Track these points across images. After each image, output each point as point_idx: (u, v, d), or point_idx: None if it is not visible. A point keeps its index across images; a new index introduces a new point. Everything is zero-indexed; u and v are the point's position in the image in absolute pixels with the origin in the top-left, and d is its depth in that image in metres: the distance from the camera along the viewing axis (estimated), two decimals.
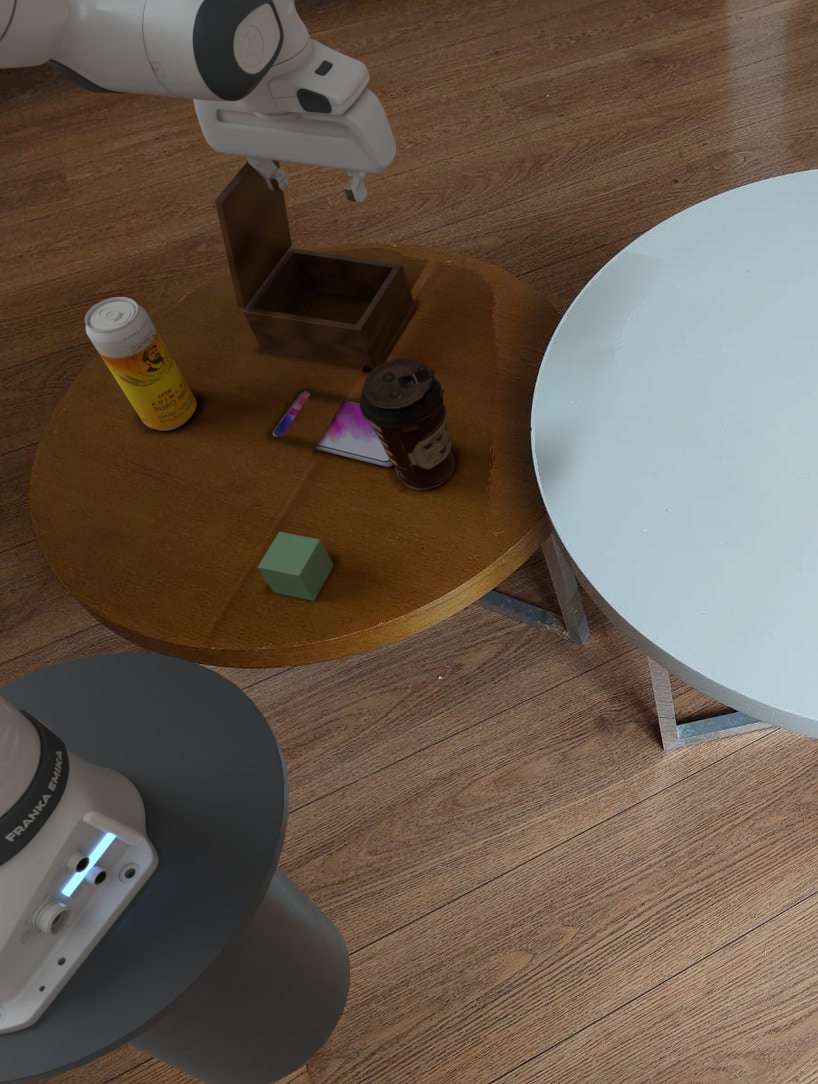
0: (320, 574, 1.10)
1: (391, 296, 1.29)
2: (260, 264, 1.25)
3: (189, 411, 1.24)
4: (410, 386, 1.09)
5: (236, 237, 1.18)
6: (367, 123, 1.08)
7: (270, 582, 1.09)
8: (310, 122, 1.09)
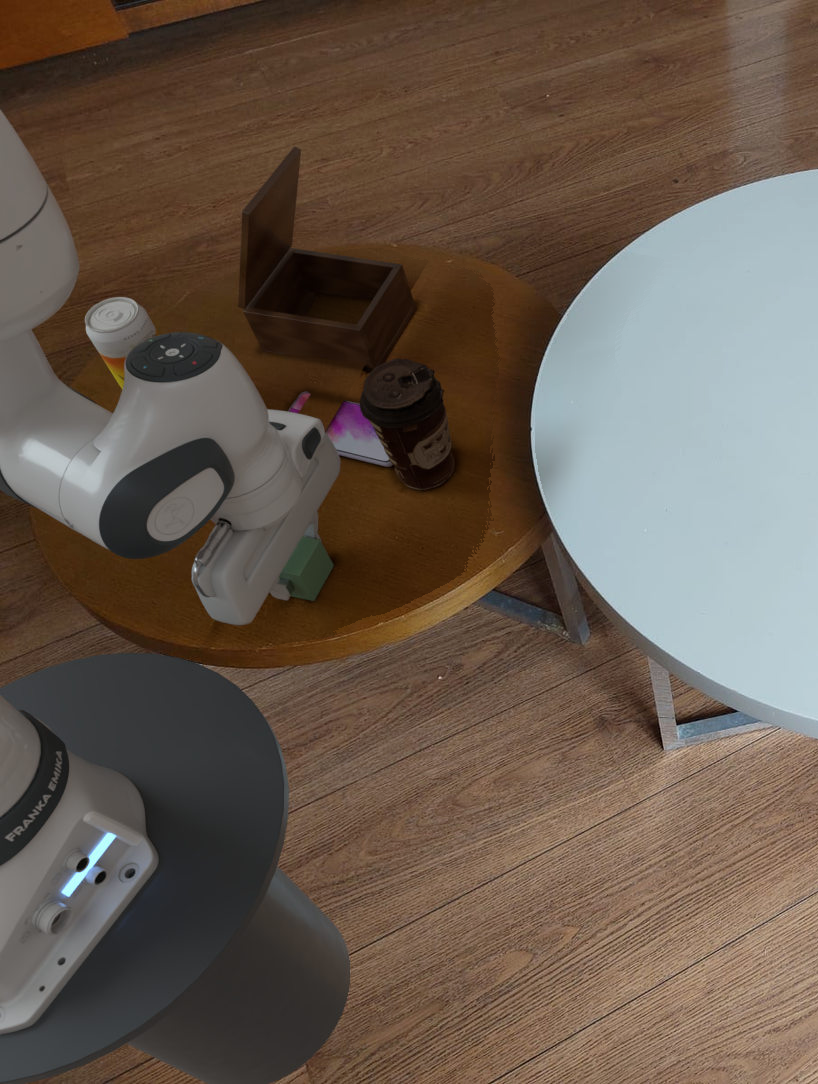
0: (320, 574, 1.10)
1: (391, 296, 1.29)
2: (264, 267, 1.26)
3: None
4: (410, 386, 1.09)
5: (253, 244, 1.18)
6: None
7: None
8: None
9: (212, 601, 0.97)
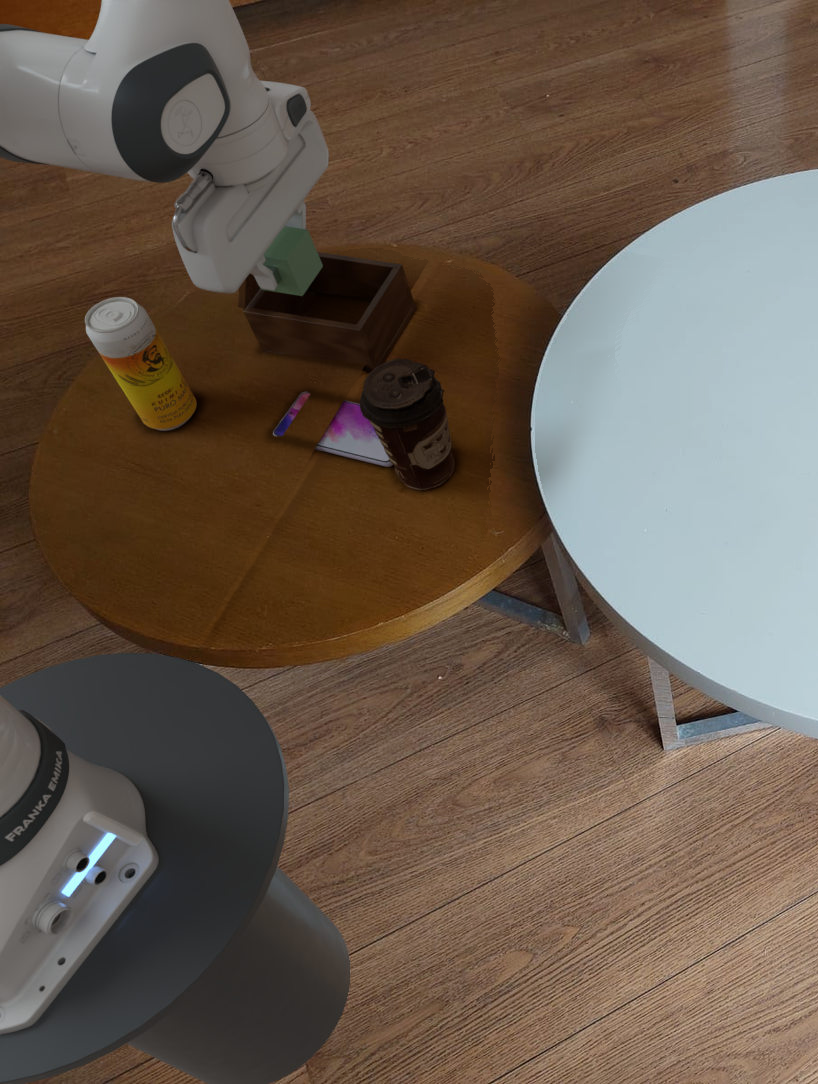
0: (308, 269, 1.06)
1: (391, 296, 1.29)
2: None
3: (189, 411, 1.24)
4: (410, 386, 1.09)
5: None
6: None
7: None
8: None
9: (194, 259, 0.94)
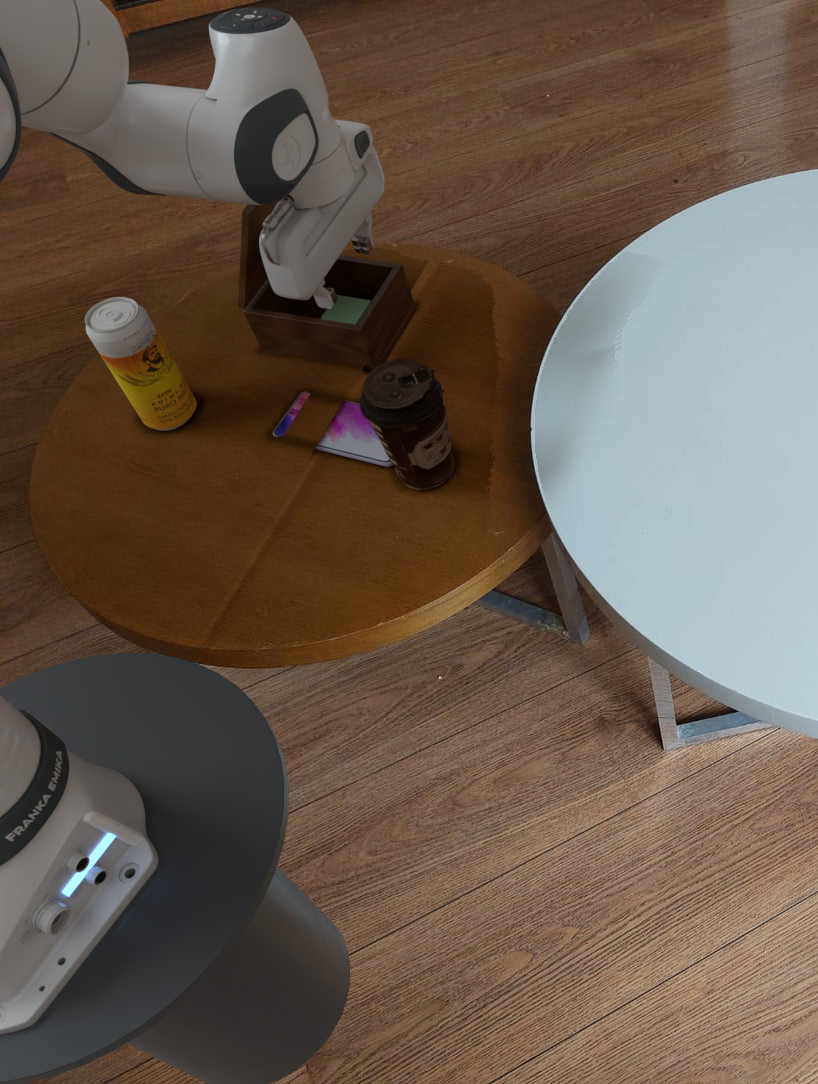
0: (352, 310, 1.27)
1: (391, 296, 1.29)
2: (264, 267, 1.26)
3: (189, 411, 1.24)
4: (410, 386, 1.09)
5: (253, 244, 1.18)
6: None
7: None
8: None
9: (276, 270, 1.10)
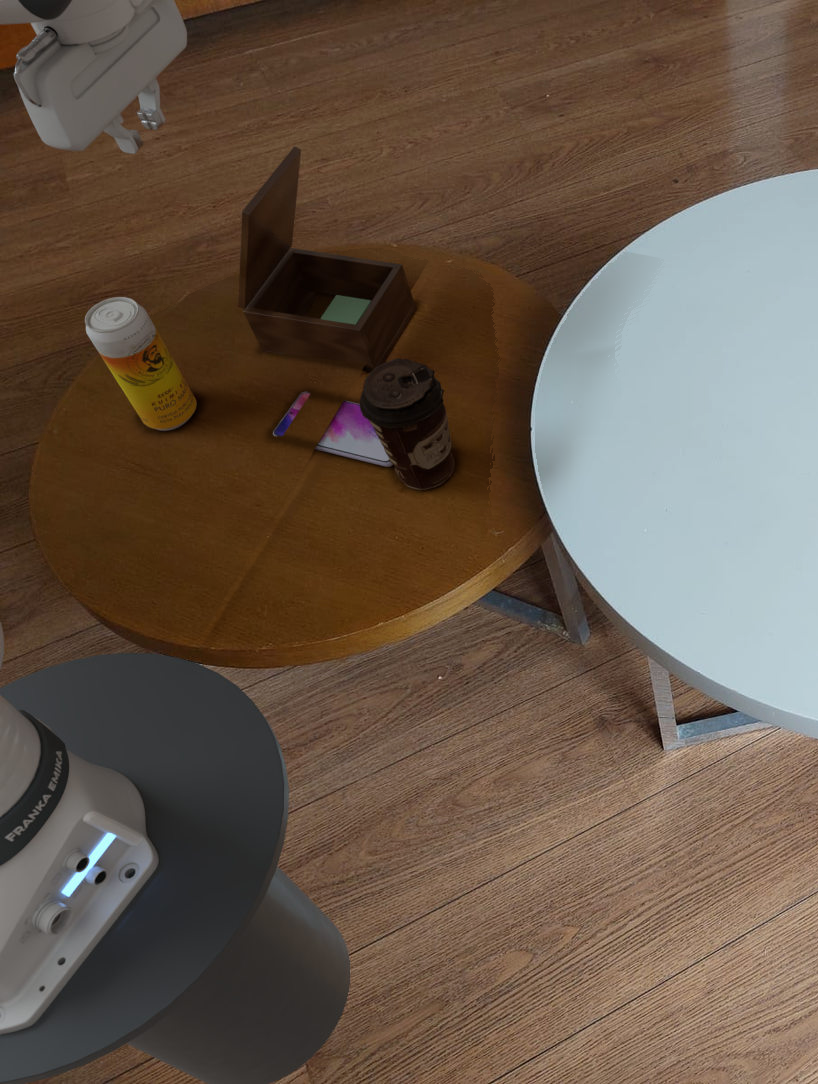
0: (352, 310, 1.27)
1: (391, 296, 1.29)
2: (264, 267, 1.26)
3: (189, 411, 1.24)
4: (410, 386, 1.09)
5: (253, 244, 1.18)
6: None
7: None
8: (131, 27, 1.05)
9: (39, 113, 0.99)
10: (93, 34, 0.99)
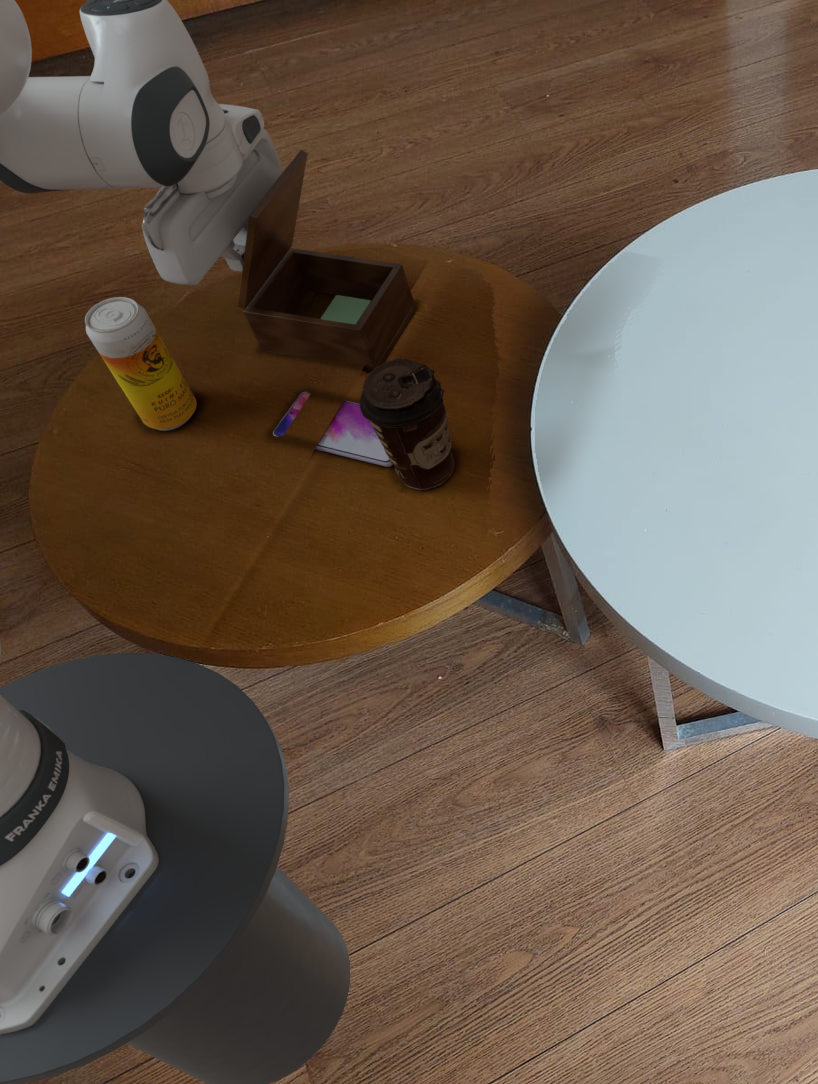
0: (352, 310, 1.27)
1: (391, 296, 1.29)
2: (266, 267, 1.26)
3: (189, 411, 1.24)
4: (410, 386, 1.09)
5: (257, 246, 1.18)
6: None
7: None
8: None
9: (161, 255, 1.10)
10: (209, 184, 1.10)
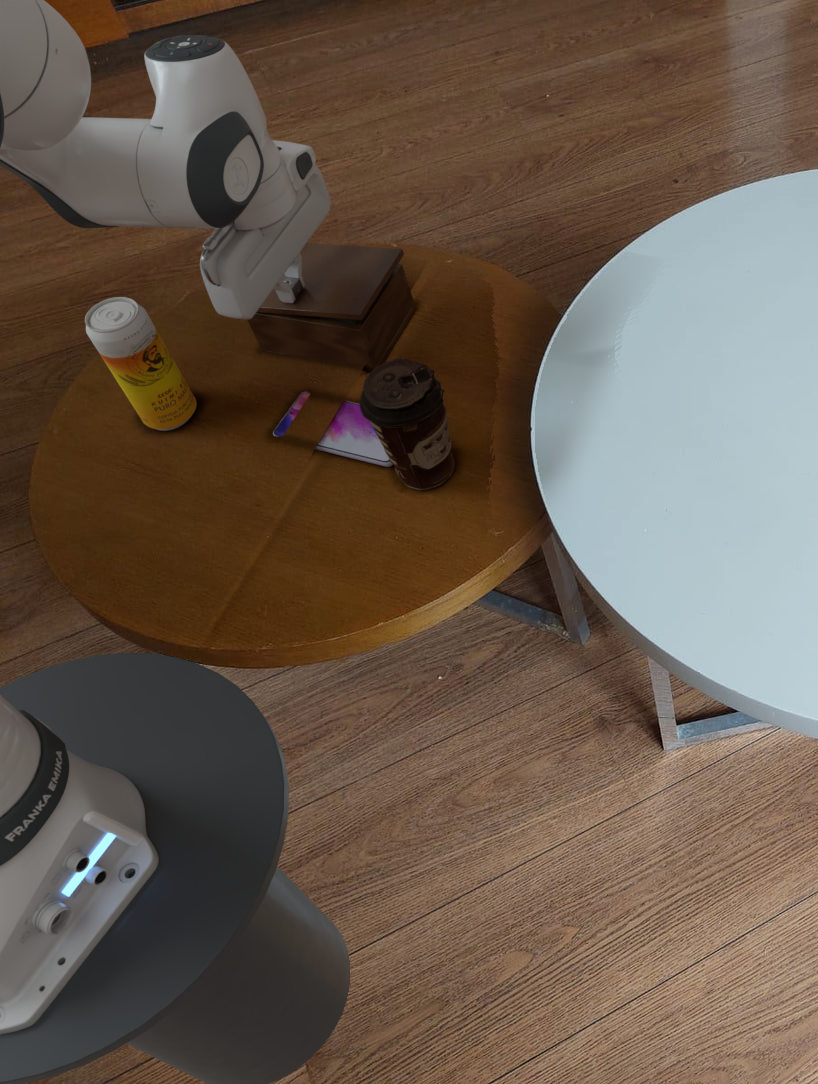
0: None
1: (391, 296, 1.29)
2: None
3: (189, 411, 1.24)
4: (410, 386, 1.09)
5: None
6: None
7: None
8: None
9: (217, 291, 1.12)
10: (264, 221, 1.12)
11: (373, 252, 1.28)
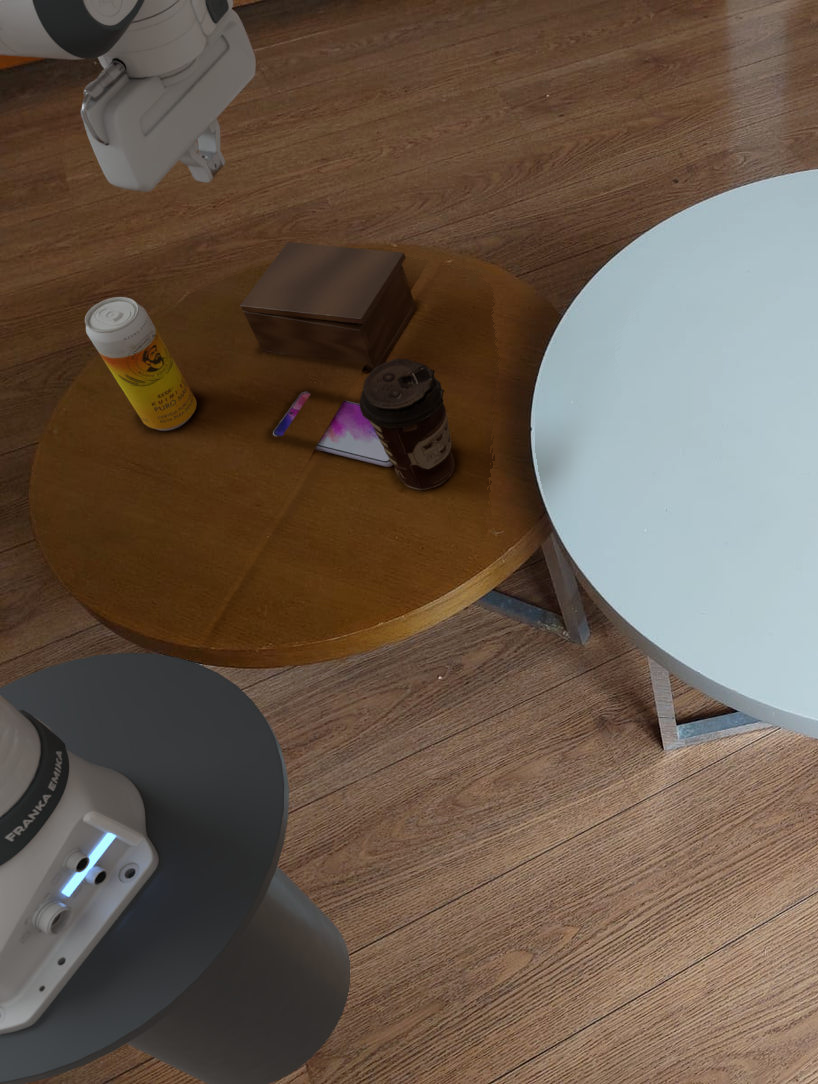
0: None
1: (391, 296, 1.29)
2: None
3: (189, 411, 1.24)
4: (410, 386, 1.09)
5: None
6: None
7: None
8: (201, 57, 0.98)
9: (106, 152, 0.91)
10: (164, 66, 0.91)
11: (374, 255, 1.28)
